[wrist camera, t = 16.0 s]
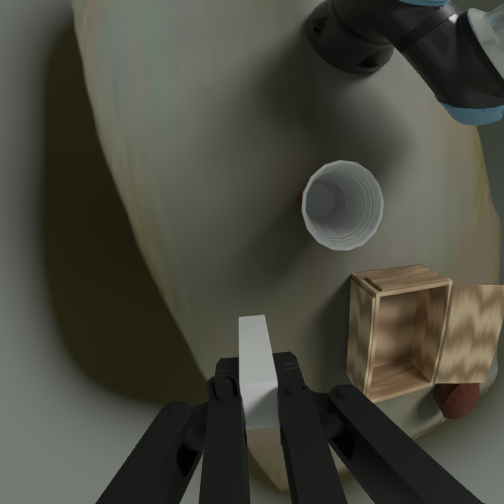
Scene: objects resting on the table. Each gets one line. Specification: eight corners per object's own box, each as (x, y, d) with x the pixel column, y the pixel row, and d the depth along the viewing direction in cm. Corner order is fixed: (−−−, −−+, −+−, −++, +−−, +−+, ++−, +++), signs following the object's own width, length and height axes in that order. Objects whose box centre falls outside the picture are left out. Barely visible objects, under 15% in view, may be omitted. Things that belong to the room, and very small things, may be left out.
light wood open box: (349, 270, 48) (373, 290, 38) (420, 262, 48) (452, 277, 39) (344, 375, 52) (361, 407, 43) (408, 361, 53) (431, 387, 43)
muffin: (459, 394, 57) (479, 415, 47) (426, 409, 57) (444, 433, 47) (468, 357, 54) (492, 378, 44) (433, 373, 54) (456, 397, 44)
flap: (454, 285, 38) (509, 286, 34) (453, 284, 39) (508, 285, 34) (434, 383, 42) (484, 382, 38) (434, 381, 43) (484, 381, 38)
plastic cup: (341, 243, 47) (372, 261, 35) (277, 225, 46) (290, 239, 34) (359, 178, 45) (395, 176, 33) (295, 157, 44) (314, 147, 32)
